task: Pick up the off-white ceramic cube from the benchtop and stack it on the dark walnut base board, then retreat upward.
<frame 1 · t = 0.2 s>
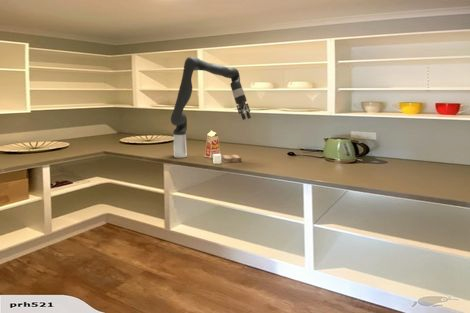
hand: (246, 118, 258), 31 cm above the countertop, tool tilted 20°, fingers open, 8 cm apart
milk carton: (212, 156, 289), on the countertop
cube: (217, 163, 266), on the countertop
base: (231, 160, 273), on the countertop
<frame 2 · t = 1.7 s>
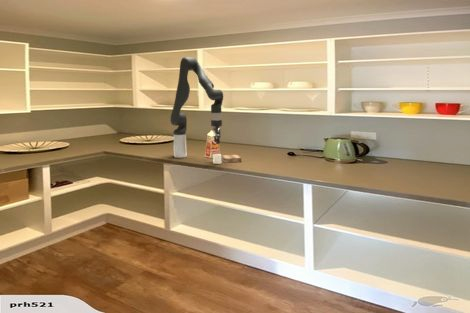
hand: (216, 142, 263), 14 cm above the countertop, tool pointing down, fingers open, 8 cm apart
nothing on the countertop moved.
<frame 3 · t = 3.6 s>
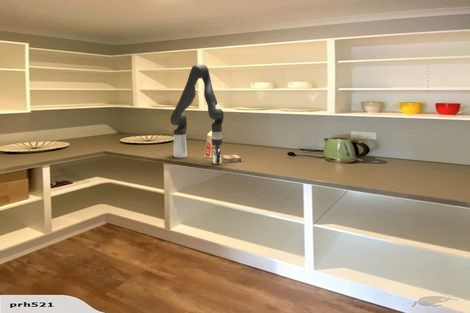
hand: (217, 162, 265), 1 cm above the countertop, tool pointing down, fingers closed on cube, 5 cm apart
cube: (217, 163, 266), on the countertop, touching gripper
everything else where it was.
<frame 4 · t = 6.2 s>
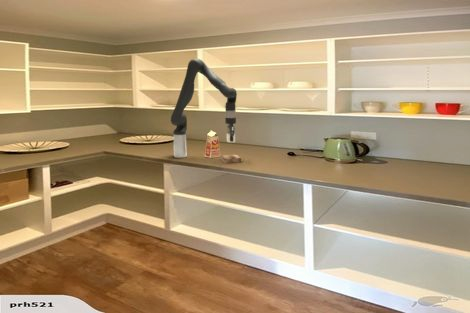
hand: (230, 140, 270), 14 cm above the countertop, tool pointing down, fingers closed on cube, 5 cm apart
cube: (230, 141, 270), point 14 cm above the countertop, touching gripper
everything else where it was.
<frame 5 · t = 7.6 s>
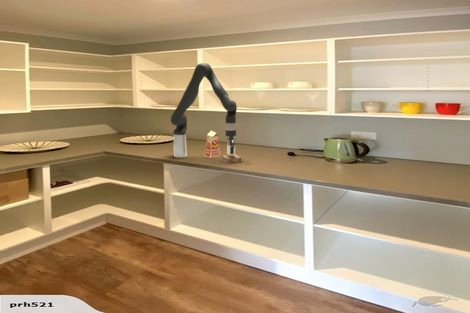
hand: (231, 152, 272), 6 cm above the countertop, tool pointing down, fingers closed on cube, 5 cm apart
cube: (231, 153, 272), point 5 cm above the countertop, touching gripper
everything else where it was.
when the fingers open (5 cm above the countertop, at t = 8.6 s): cube drops 1 cm, resting on base.
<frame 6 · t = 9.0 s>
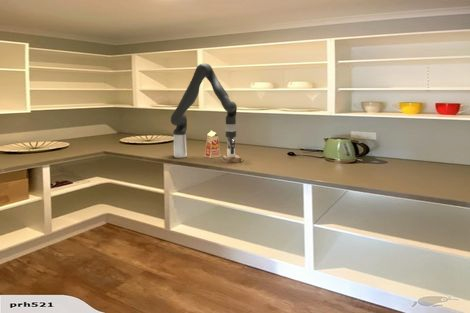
hand: (231, 152, 272), 6 cm above the countertop, tool pointing down, fingers open, 8 cm apart
cube: (231, 156, 272), point 3 cm above the countertop, touching base
everything else where it was.
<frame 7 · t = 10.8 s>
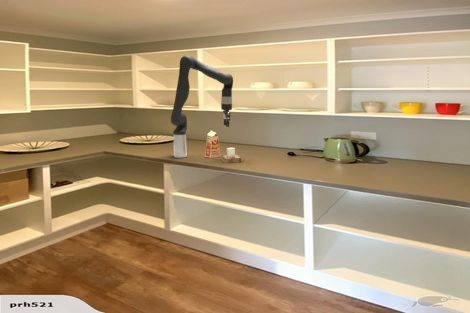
hand: (226, 125, 271), 25 cm above the countertop, tool pointing down, fingers open, 8 cm apart
nothing on the countertop moved.
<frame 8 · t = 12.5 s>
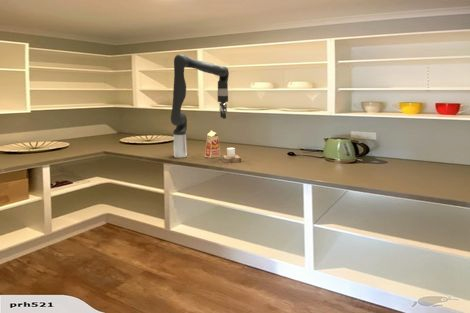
hand: (223, 118, 273), 30 cm above the countertop, tool pointing down, fingers open, 8 cm apart
nothing on the countertop moved.
at the end: cube inside the target area on the base (0.1 cm from its centre), point 3.0 cm above the base's base; cube tilted 0°; the gripper is holding nothing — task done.
